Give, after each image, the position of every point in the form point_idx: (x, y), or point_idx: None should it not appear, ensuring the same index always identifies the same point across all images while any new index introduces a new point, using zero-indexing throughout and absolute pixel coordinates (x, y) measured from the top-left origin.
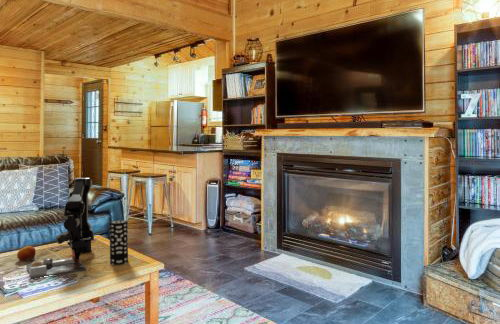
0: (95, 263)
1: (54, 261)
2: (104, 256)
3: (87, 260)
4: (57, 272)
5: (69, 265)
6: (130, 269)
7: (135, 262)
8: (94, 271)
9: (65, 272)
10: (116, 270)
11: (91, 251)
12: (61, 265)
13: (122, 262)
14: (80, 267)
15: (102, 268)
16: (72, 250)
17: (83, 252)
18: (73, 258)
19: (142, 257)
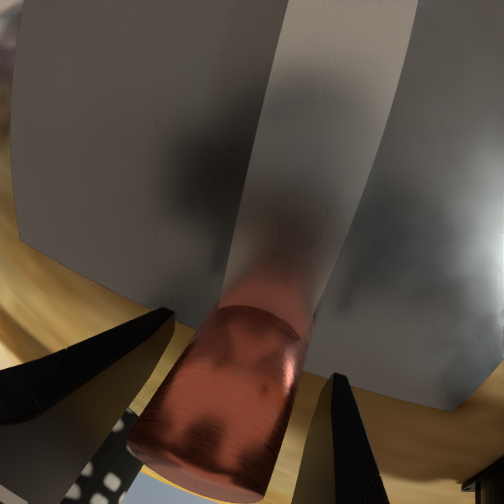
0: (164, 378)
1: (379, 1)
2: (294, 477)
3: (304, 409)
4: (34, 2)
5: (163, 176)
6: (13, 350)
7: None
8: (11, 255)
9: (18, 70)
10: (9, 320)
11: (462, 486)
12: (249, 87)
13: None
14: (47, 224)
15: (43, 316)
16: (181, 445)
17: (500, 463)
18: (218, 317)
19: (143, 470)
